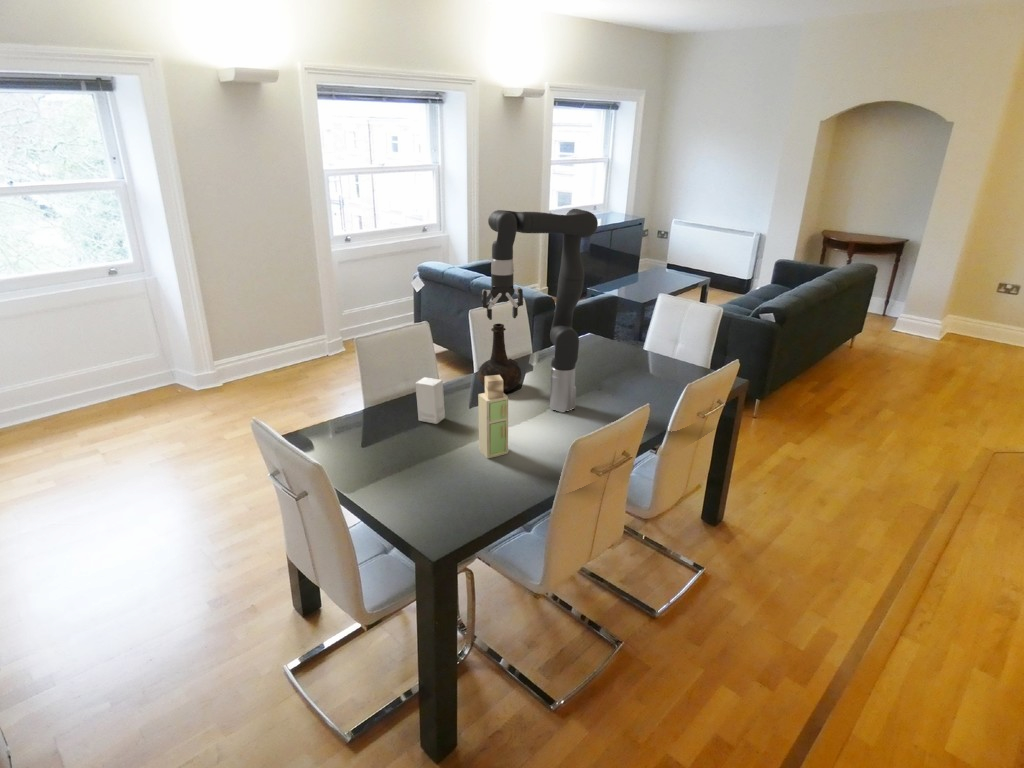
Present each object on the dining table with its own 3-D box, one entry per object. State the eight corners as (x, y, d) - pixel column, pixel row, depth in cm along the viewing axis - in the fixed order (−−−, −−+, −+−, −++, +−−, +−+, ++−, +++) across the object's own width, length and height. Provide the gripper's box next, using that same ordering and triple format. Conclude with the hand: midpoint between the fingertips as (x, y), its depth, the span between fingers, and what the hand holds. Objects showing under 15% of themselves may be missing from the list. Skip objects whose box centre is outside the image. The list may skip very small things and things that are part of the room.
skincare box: (445, 418, 234) (444, 379, 228) (436, 425, 228) (434, 385, 223) (426, 414, 237) (424, 376, 231) (416, 420, 232) (414, 382, 226)
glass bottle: (529, 391, 260) (530, 326, 249) (493, 400, 250) (493, 333, 240) (505, 378, 273) (505, 316, 263) (470, 386, 264) (469, 322, 253)
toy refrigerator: (487, 460, 204) (487, 401, 196) (478, 450, 210) (477, 393, 202) (509, 455, 208) (509, 397, 200) (499, 445, 214) (499, 389, 206)
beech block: (499, 391, 204) (499, 374, 202) (503, 397, 199) (503, 380, 197) (484, 393, 203) (484, 376, 200) (488, 399, 198) (487, 381, 196)
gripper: (519, 269, 215) (519, 314, 221) (479, 270, 211) (479, 316, 217) (525, 273, 208) (524, 320, 214) (484, 275, 204) (484, 322, 211)
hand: (502, 318), depth 216 cm, fingers open, 8 cm apart
